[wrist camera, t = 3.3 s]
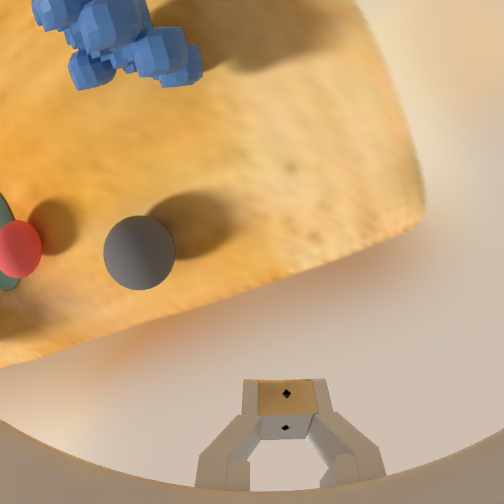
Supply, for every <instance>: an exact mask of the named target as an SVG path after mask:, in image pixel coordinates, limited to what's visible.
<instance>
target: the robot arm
mask: <svg viewBox="0 0 504 504" xmlns="http://www.w3.org/2000/svg"><path fill="white" fill-rule="evenodd" d="M276 439H277V440H278V439H305V440H306V441H307V443H308V444H309V445H310V446H311V447H312V449H313V450H314V451H315V452H316V453H317V455H318V456H319V457H320V458H321V459H322V460H323V462H324V463H325V464H326V465H327V466H328V467H329V469H328V470H327V472H326V473H325V474H324V476H323V477H322V479H321V480H320V488H317V489H307V490H296V491H271V492H252V491H250V463H249V462H248V461H247V459H248V457H249V456H250V454H251V453H252V452H253V450H254V449H255V448H256V446H257V445H258V443H259V442H260V440H276ZM0 504H504V429H502V430H500V431H498V432H497V433H495V434H493V435H491V436H489V437H487V438H485V439H483V440H482V441H479V442H478V443H475V444H473V445H471V446H469V447H467V448H465V449H462V450H460V451H458V452H456V453H453V454H451V455H448V456H446V457H444V458H441V459H439V460H436V461H434V462H430V463H427V464H425V465H422V466H419V467H416V468H413V469H409V470H406V471H403V472H400V473H396V474H392V475H388V476H386V473H385V468H384V465H383V462H382V458H381V455H380V451H379V447H377V446H376V445H375V444H374V443H373V442H371V441H370V440H369V439H368V438H367V437H365V436H364V435H363V434H362V433H361V432H360V431H358V430H357V429H356V428H355V427H354V426H353V425H351V424H350V423H349V422H348V421H347V420H346V419H345V418H343V417H342V416H341V415H340V414H339V413H338V412H333V409H332V404H331V400H330V396H329V391H328V387H327V383H326V380H325V379H302V380H284V381H283V380H280V381H279V380H247V379H244V382H243V399H242V415H237V416H236V417H235V418H234V419H233V420H232V421H231V423H230V424H229V425H228V426H227V427H226V428H225V429H224V430H223V431H222V432H221V433H220V434H219V435H218V437H217V438H216V439H215V440H214V441H213V442H212V443H211V444H210V445H209V446H208V447H207V448H206V449H205V450H204V451H203V452H202V453H201V454H200V455H199V461H198V467H197V474H196V481H195V487H188V486H182V485H176V484H170V483H164V482H159V481H155V480H150V479H145V478H141V477H137V476H133V475H129V474H126V473H122V472H119V471H115V470H112V469H108V468H105V467H102V466H99V465H96V464H94V463H91V462H88V461H85V460H82V459H80V458H77V457H75V456H72V455H70V454H67V453H65V452H62V451H60V450H58V449H56V448H54V447H51V446H49V445H47V444H45V443H43V442H41V441H39V440H37V439H35V438H33V437H31V436H29V435H27V434H25V433H23V432H22V431H20V430H18V429H16V428H14V427H13V426H11V425H10V424H8V423H6V422H5V421H3V420H0Z"/></svg>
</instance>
